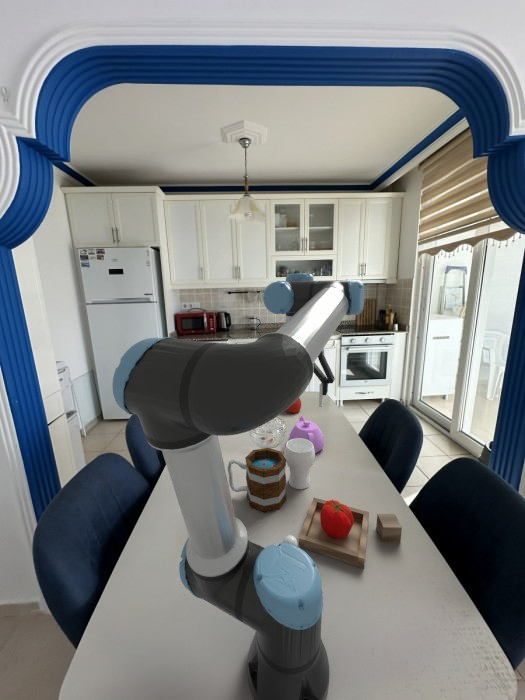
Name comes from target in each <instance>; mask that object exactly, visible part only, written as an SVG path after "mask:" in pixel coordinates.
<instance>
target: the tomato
mask: <svg viewBox="0 0 525 700" xmlns="http://www.w3.org/2000/svg"><path fill="white" fill-rule="evenodd" d="M326 501H327V502H326V503H325V504H324V506H323V507H322V510H321V514H320V521H321V526H322V529H323V531H324V532H325V533H326V534H327V535H328V536H330V537H332V538H335V539H342V538H344V537H346V536H347V535H348V534H349V532H350V530H351V528H352V526H353V523H354V517H353V515H352V513H351V511H350V509H349V508H348V507H349V506H348V505H346V504H343V503H341V502H340V501H338V500H333V499H331V500H330V499H329V500H326ZM347 506H348V507H347Z"/></svg>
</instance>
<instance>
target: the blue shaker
mask: <svg viewBox="0 0 525 700" xmlns="http://www.w3.org/2000/svg"><path fill="white" fill-rule="evenodd" d="M281 543H288V544H292V545H295V546H297V547H299V541H298V540H297V538H296V537H295V536H294V535H292V534H291V535H289V534H288V535H286V536H285V537H284V538H283V540H282V542H281Z"/></svg>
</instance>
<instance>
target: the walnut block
mask: <svg viewBox="0 0 525 700" xmlns="http://www.w3.org/2000/svg"><path fill="white" fill-rule="evenodd" d="M376 515H377V516H376V526H375V527H376V528H375V529H376V530H377V533H378V535H379V538H380V540H381V542H382V543H401V541H402V540H401V539H402V533H403V532H402V529H403V527H402V525H401V523H400V521H399V519H398V517H397V515H396V513H377V514H376Z"/></svg>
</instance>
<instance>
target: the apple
mask: <svg viewBox="0 0 525 700" xmlns="http://www.w3.org/2000/svg"><path fill="white" fill-rule="evenodd" d="M301 408H302V401H301V398H300V397H299V398H298V399H297V401H296V402H294V403H293V404H292V405H291V406H290V407H289V408H288V409H287V410H285V411H286V412H288V413H292V414H297V413H300V412H301Z"/></svg>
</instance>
